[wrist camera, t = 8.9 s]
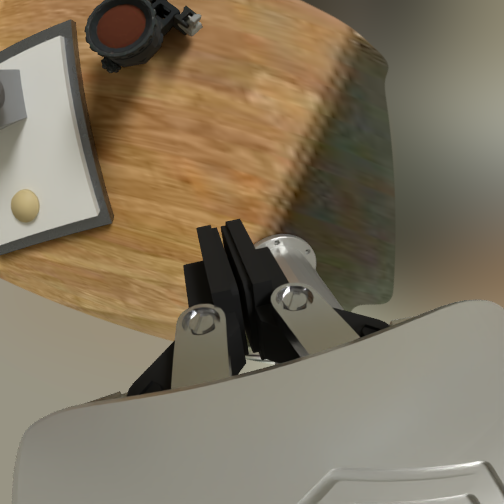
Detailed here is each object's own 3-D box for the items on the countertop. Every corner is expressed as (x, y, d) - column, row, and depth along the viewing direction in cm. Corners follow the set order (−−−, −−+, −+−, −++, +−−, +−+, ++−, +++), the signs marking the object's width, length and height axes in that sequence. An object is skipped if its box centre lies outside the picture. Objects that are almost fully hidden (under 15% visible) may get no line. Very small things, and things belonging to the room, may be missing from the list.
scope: (220, -1, 16) (124, 95, 18) (201, 30, 28) (141, 91, 30) (143, -54, 12) (49, 41, 14) (151, -8, 23) (91, 54, 26)
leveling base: (114, 216, 37) (111, 223, 35) (0, 249, 33) (-5, 256, 32) (75, 22, 23) (71, 19, 21) (-46, 85, 19) (-54, 86, 18)
